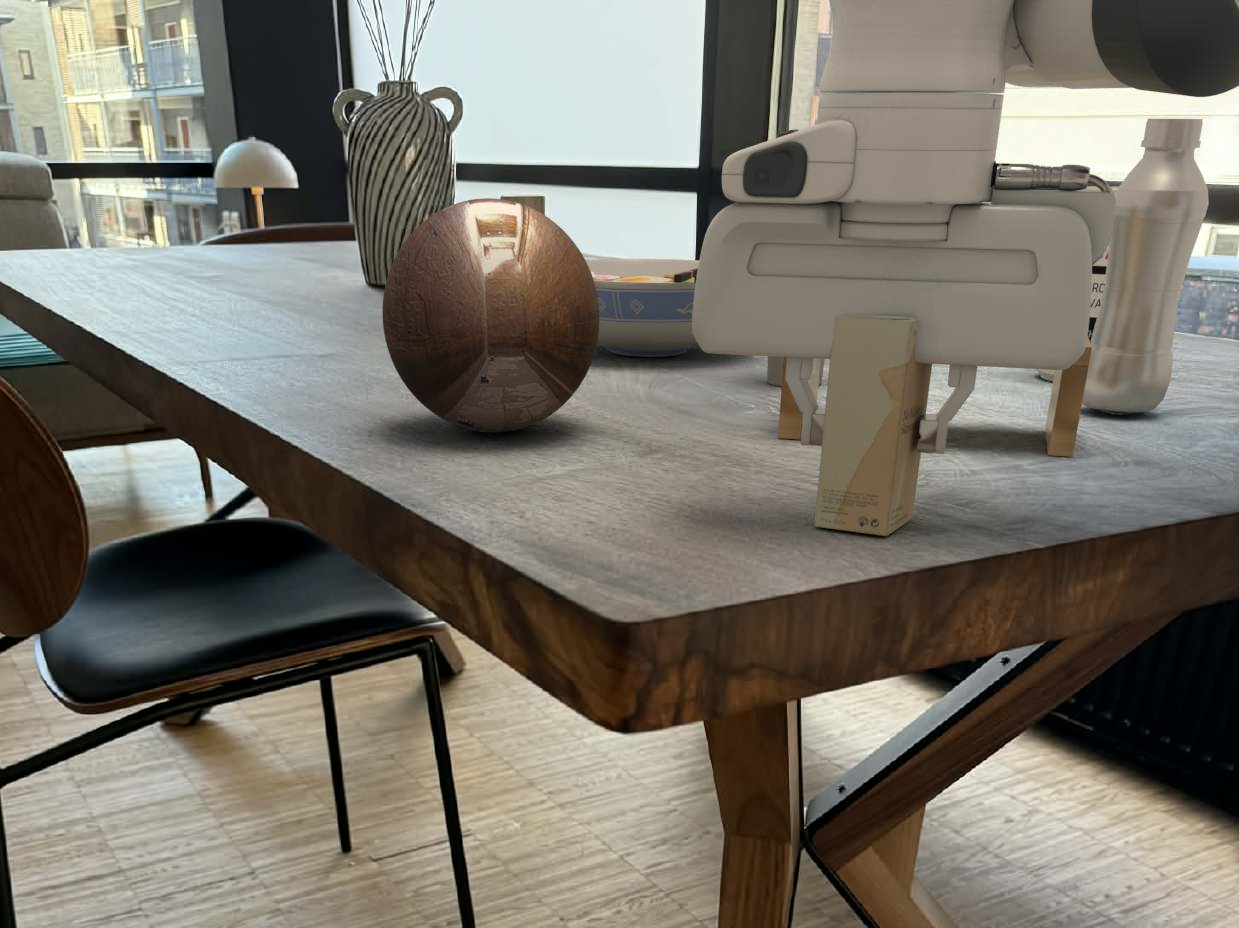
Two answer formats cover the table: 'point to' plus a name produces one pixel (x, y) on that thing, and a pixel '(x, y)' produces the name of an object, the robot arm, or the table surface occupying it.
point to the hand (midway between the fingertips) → (872, 447)
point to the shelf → (1059, 417)
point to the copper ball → (491, 315)
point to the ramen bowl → (645, 305)
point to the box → (871, 425)
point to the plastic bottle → (1147, 270)
